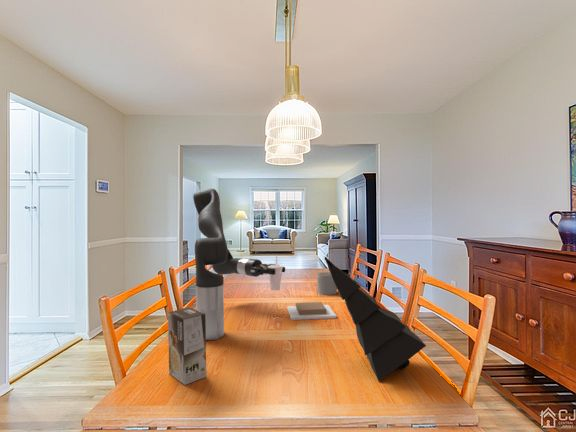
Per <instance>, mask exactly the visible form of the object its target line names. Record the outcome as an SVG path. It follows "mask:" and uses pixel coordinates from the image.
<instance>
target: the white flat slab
mask: <svg viewBox="0 0 576 432" xmlns="http://www.w3.org/2000/svg"><path fill="white" fill-rule="evenodd" d="M286 307H287V308H286V309H287V312H288V315H289V318H290V321H299V320H301V321H302V320H320V319H321V320H325V319H337V314H336V313H335V312H334V311H333V309H332V307H330V305H329V304H323V302H321V301H315V302H314V301H313V302H311V301H310V302H309V301H308V302H306V301H305V302H295V305H287V306H286Z"/></svg>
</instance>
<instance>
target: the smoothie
mask: <svg viewBox="0 0 576 432" xmlns="http://www.w3.org/2000/svg"><path fill="white" fill-rule="evenodd" d="M275 264H276V265H271V266H268V268H269V269H275V275H271V274H268V275H269V276H268V277H269V282H270V290H271V291H280V290H281V282H282V275H283V274H282V273H283V272H282V269H283V267H284V266H283V265H280V264H278V255H275Z"/></svg>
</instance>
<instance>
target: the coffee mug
mask: <svg viewBox="0 0 576 432" xmlns="http://www.w3.org/2000/svg"><path fill="white" fill-rule="evenodd" d="M316 275H317V281H316V282H317V294H318V295H321V294H322V295H323V296H333V294H334V295H336V293H337V292H338V289H337V288H336V285H335V283H334V280H333V278H332V276H331V273H330V271H329V272H328V271H324V272H323V271H321V272H318V273H317V274H316ZM337 294H338V293H337ZM322 295H321V296H322Z"/></svg>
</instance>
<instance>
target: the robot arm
mask: <svg viewBox="0 0 576 432" xmlns="http://www.w3.org/2000/svg"><path fill="white" fill-rule="evenodd" d="M192 197H193V198H192V199H193V203H194V207H195V210H196V211H197V212H196V213H197V214H198V219H197V220H198V221H197V222H198V230H199V231H200V233H201V234H202V235H203V236H204V237H200V238H197V239H195V240H196V241H195V243H194V258H195V259H194V261H195V262H194V263H195V310H197V311H199V312H202V313H205V319H206V341H207V340H208V341H210V340H219V339H220V338H222V337H223V336H224V335H225V306H224V305H225V298H224V290H225V289H224V286H225V285H224V280H225V279H224V276H223V275H231V274H237V275H243V276H247V277H255V278H256V277H259V276H260V275H261V276H263V275H269V274H271V275H275V269H269V268H268V266H271V265H276V263H275V264H274V263H263V262H262V261H261V259H257V258H256V259H255V258H245V257H244V258H240V257H235V258H234V257H233V255H232V253H231V251H230V249H229V248H228V243H227V241H226V238H225V233H224V226H223V225H224V224H223V218H222V212H221V200H220V195H219V193H218V191H217V190H216V189H215V188H207V189H203V190H200V191H196V192H194V193H193V196H192ZM206 266H211V267H212V270H213V271H214V272H213V271H211V270H209V269H207V268H206ZM285 272H286V266H283V269H282V273H285Z"/></svg>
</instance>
